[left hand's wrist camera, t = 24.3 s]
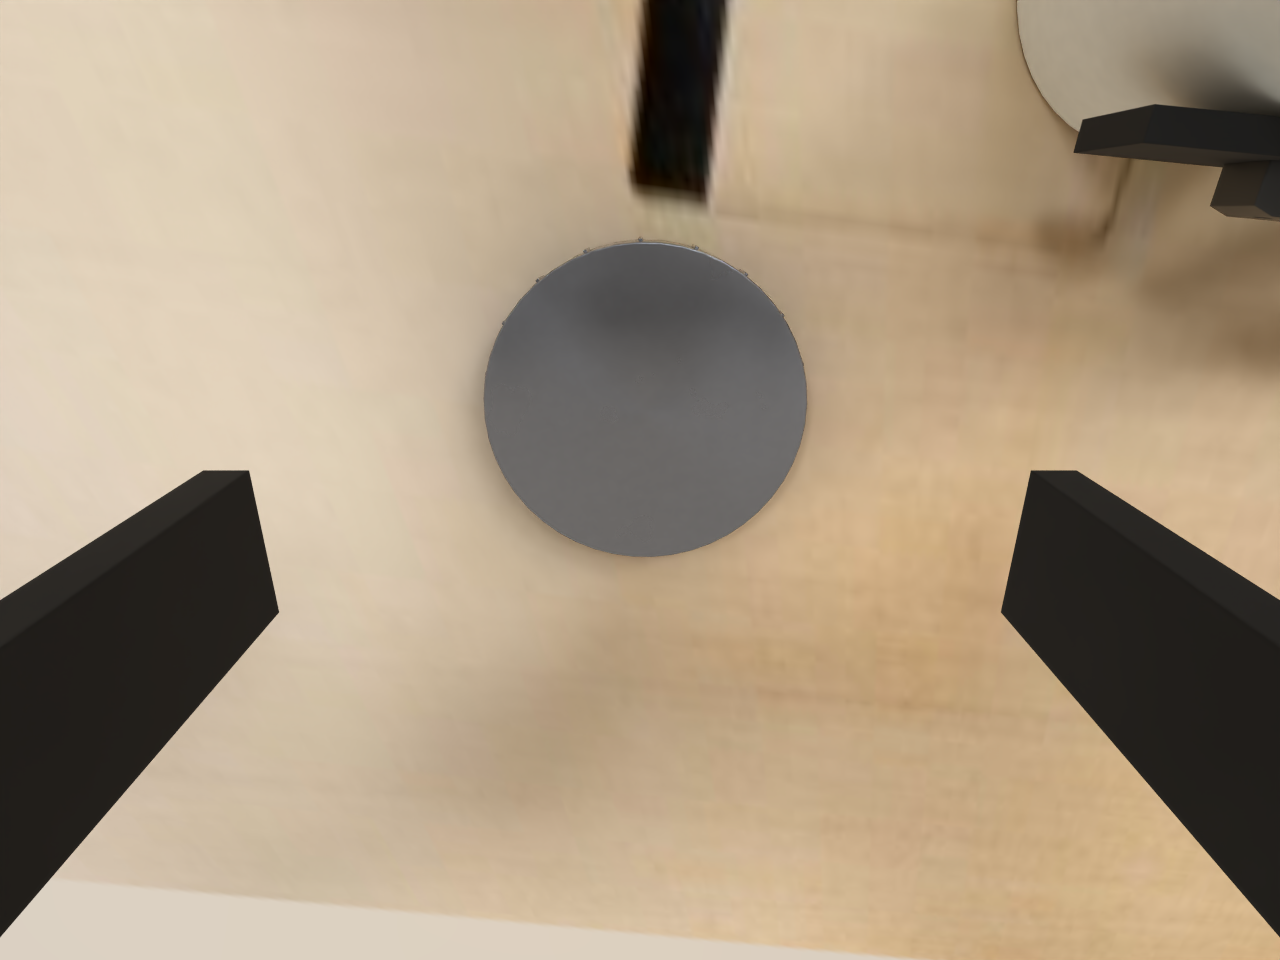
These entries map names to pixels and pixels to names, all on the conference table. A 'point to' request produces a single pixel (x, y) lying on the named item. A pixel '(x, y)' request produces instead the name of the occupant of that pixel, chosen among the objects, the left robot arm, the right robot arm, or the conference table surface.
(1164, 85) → the jar
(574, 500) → the lid
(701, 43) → the conference table surface
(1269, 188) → the right robot arm
